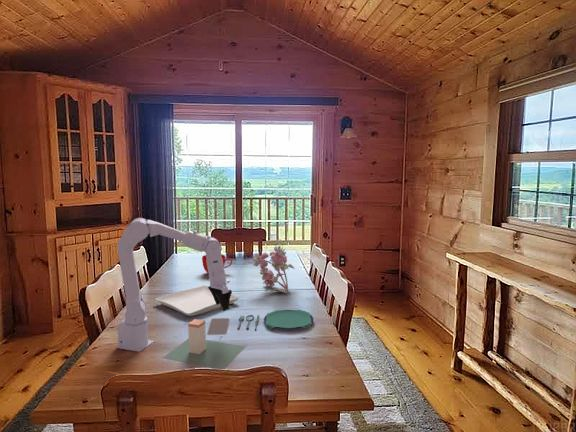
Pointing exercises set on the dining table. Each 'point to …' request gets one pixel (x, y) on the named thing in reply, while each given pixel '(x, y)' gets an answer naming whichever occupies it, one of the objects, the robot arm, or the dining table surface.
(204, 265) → the ceramic cup
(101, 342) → the dining table surface
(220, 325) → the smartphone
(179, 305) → the square plate
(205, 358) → the green mat
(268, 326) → the cutlery set
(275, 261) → the flower
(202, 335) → the cream block
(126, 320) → the robot arm
